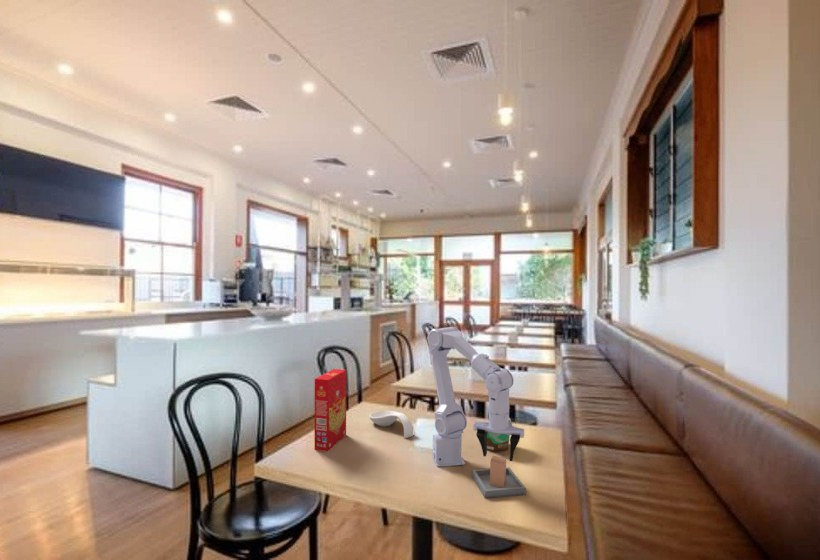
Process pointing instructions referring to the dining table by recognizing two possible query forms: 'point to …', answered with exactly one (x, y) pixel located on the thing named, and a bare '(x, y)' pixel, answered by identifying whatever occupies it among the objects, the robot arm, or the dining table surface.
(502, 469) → the block
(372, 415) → the spoon rest
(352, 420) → the dining table surface
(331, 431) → the food packaging
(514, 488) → the tray
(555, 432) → the dining table surface
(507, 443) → the food container
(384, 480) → the dining table surface
